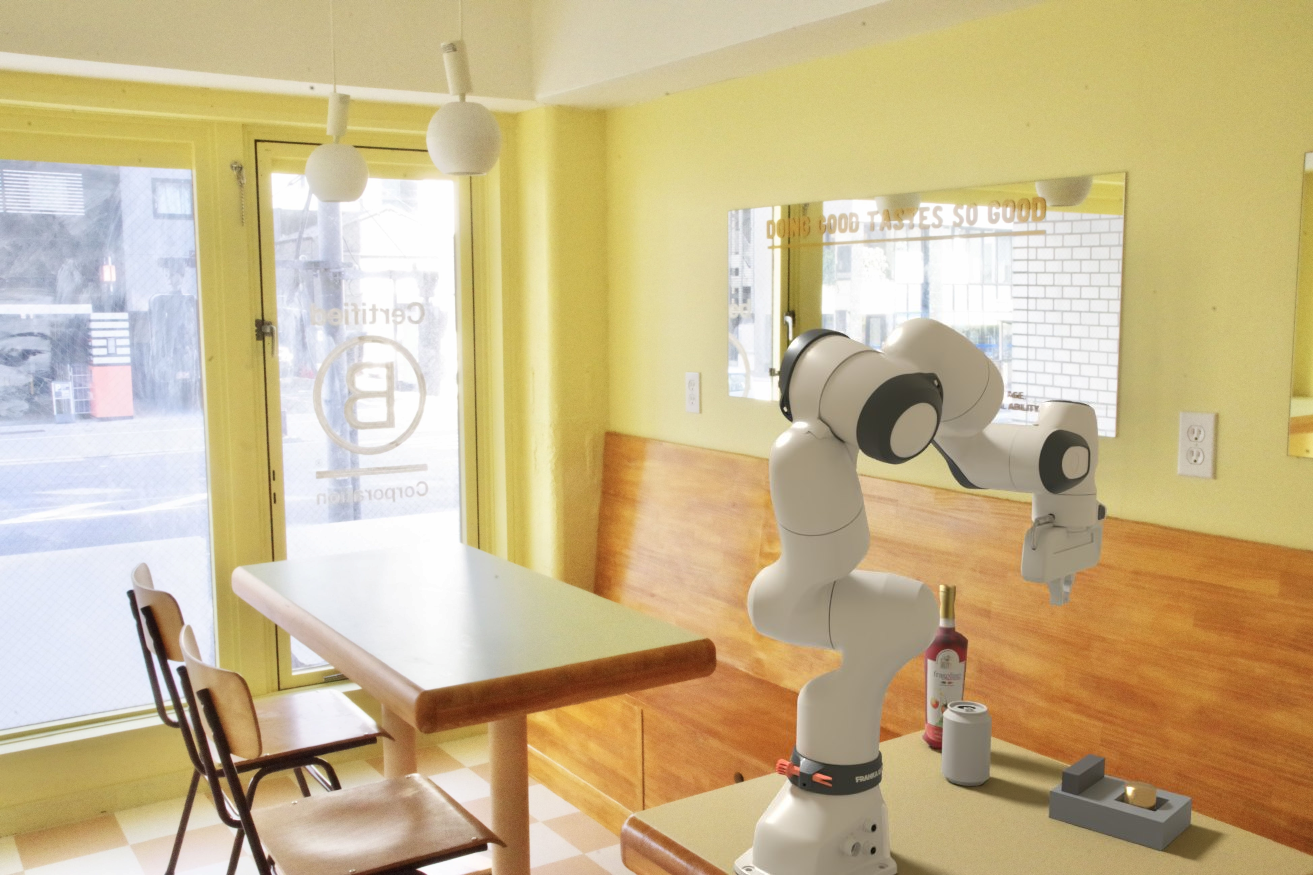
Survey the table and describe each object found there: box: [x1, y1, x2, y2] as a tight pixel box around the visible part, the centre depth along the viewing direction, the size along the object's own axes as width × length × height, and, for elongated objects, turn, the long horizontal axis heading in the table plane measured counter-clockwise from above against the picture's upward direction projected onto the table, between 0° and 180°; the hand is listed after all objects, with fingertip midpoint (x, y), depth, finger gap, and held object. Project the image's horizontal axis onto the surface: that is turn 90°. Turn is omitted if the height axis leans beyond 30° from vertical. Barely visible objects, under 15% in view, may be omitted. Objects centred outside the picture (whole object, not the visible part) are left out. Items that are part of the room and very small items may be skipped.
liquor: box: [921, 584, 969, 751], centre depth 195 cm, size 7×7×28 cm
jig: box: [1048, 753, 1193, 851], centre depth 165 cm, size 12×16×7 cm
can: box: [940, 700, 993, 787], centre depth 181 cm, size 8×8×12 cm
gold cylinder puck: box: [1124, 780, 1158, 811], centre depth 163 cm, size 4×4×6 cm
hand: (1059, 604), depth 167 cm, fingers closed
